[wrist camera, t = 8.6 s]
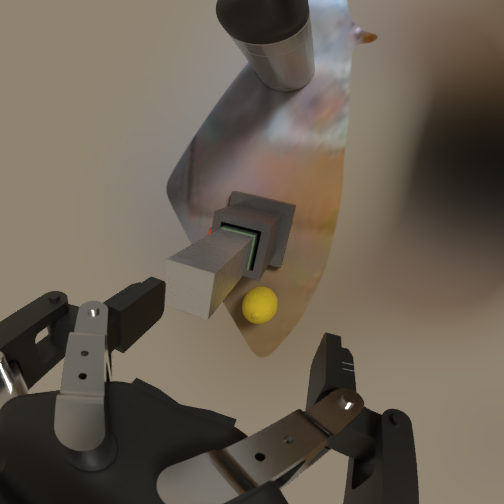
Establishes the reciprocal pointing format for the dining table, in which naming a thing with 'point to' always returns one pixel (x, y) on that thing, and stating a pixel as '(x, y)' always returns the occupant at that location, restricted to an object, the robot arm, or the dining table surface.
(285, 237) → the stand base
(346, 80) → the dining table surface
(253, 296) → the lemon
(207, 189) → the dining table surface
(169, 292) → the column
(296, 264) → the dining table surface
